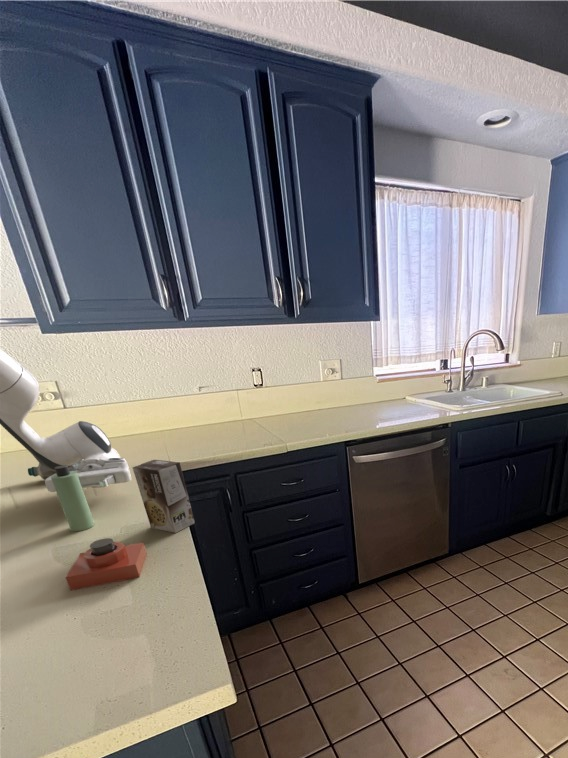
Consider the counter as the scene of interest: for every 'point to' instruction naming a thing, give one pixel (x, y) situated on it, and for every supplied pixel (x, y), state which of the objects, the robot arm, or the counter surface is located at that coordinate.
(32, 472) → the crushed plastic bottle
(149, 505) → the coffee box
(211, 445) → the counter surface
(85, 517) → the refill bottle
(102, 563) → the reddish-brown angled base
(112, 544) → the grey button cap
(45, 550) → the counter surface
